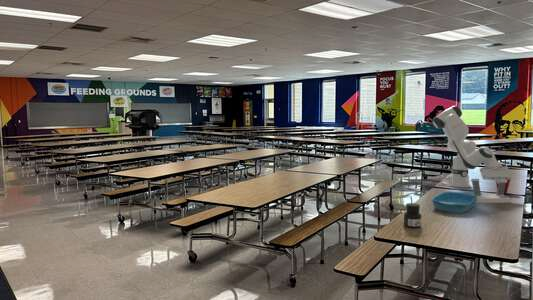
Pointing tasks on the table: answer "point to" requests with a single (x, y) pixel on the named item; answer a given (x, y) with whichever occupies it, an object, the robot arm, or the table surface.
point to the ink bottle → (412, 216)
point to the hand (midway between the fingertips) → (501, 183)
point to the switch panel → (492, 199)
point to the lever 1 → (476, 187)
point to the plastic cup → (505, 186)
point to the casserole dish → (454, 202)
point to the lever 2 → (501, 187)
